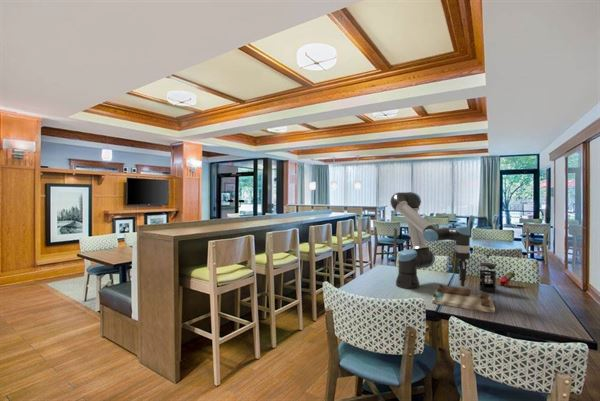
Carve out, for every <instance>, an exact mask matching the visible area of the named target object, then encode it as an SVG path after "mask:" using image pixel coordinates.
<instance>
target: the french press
mask: <svg viewBox="0 0 600 401" xmlns="http://www.w3.org/2000/svg"><path fill="white" fill-rule="evenodd" d="M484 257H486V258H487V259H489V257H493V255H492V254H487V253H486V254H484ZM496 266H497V264H495V263H491V262H480V263H479V267H480V268H482V267H486V269H482V270H479V285H478V287H479V289H478V290H479V291H480V292H486V293H488V294H495V293H496V292H497V286H496V284H497V283H496V281H497V280H496V277H497V272H496V271H494V270H496ZM489 276H490V278H489ZM486 277H487V278H486Z"/></svg>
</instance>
